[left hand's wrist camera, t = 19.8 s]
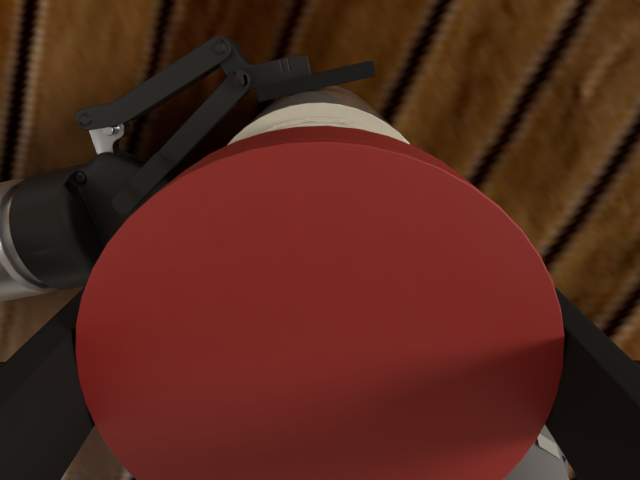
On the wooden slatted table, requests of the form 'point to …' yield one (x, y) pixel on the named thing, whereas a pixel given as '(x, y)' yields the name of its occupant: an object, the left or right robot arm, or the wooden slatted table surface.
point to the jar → (319, 113)
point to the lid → (319, 320)
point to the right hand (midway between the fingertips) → (386, 162)
